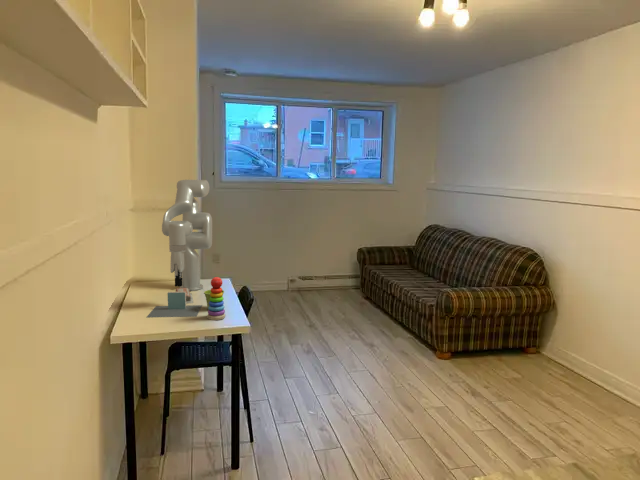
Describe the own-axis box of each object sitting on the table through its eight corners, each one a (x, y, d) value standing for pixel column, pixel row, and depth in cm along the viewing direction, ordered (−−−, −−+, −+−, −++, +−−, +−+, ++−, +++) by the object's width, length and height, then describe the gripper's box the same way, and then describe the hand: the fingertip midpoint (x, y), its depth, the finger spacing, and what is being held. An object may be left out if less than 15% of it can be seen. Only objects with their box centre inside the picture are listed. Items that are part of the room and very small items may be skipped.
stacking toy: (208, 321, 209) (207, 279, 207) (205, 316, 217) (204, 275, 214) (227, 319, 212) (226, 278, 210) (223, 314, 220) (222, 274, 217)
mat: (155, 306, 231) (155, 306, 231) (202, 305, 233) (202, 305, 233) (146, 318, 214) (146, 317, 213) (196, 317, 216) (196, 316, 216)
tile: (169, 308, 228) (168, 291, 227) (186, 307, 229) (185, 291, 228) (168, 309, 226) (167, 292, 225) (185, 309, 227) (184, 292, 226)
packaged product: (171, 287, 250) (191, 286, 253) (172, 296, 251) (191, 295, 254) (172, 296, 233) (193, 295, 236) (172, 306, 234) (193, 304, 237)
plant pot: (203, 307, 230) (202, 290, 229) (222, 305, 234) (222, 288, 232) (205, 313, 222) (205, 294, 220) (226, 311, 225) (225, 293, 224)
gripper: (172, 246, 236) (173, 282, 238) (166, 250, 221) (167, 289, 223) (188, 246, 237) (189, 282, 239) (182, 250, 222) (183, 289, 224)
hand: (178, 286), depth 231 cm, fingers closed
